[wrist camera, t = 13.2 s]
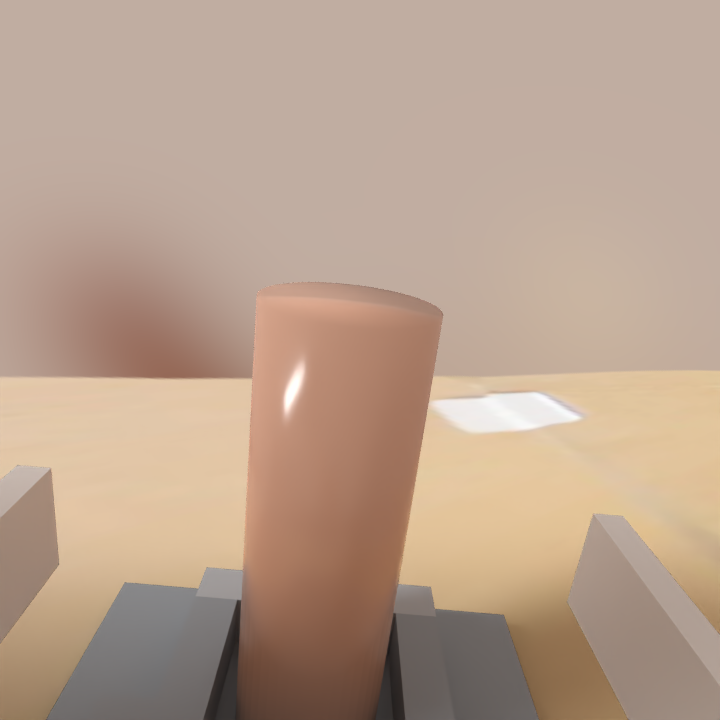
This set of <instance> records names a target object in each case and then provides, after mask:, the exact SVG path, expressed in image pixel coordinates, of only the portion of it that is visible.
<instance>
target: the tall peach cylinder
mask: <svg viewBox="0 0 720 720" xmlns="http://www.w3.org/2000/svg"><path fill="white" fill-rule="evenodd" d="M442 319H443V313H442V311H441V310H440V309H439V308H437V307H436V306H434V305H432V304H431V303H429V302H426V301H424V300H421V299H418V298H415V297H412V296H409V295H405V294H401V293H398V292H393V291H389V290H384V289H378V288H373V287H366V286H359V285H350V284H340V283H323V282H301V283H300V282H298V283H286V284H278V285H273V286H269V287H266V288H263V289H262V290H260V291H259V292H258V293H257V301H256V322H255V340H254V360H253V380H252V400H251V419H250V439H249V459H248V478H247V498H246V518H245V538H244V557H243V577H242V597H241V616H240V636H239V656H238V676H237V695H236V715H235V720H376V714H377V708H378V702H379V696H380V690H381V684H382V678H383V672H384V666H385V660H386V654H387V648H388V642H389V636H390V630H391V624H392V618H393V612H394V606H395V600H396V594H397V588H398V582H399V576H400V570H401V564H402V559H403V553H404V547H405V541H406V535H407V529H408V523H409V517H410V511H411V505H412V499H413V493H414V487H415V481H416V475H417V469H418V463H419V457H420V451H421V445H422V439H423V433H424V427H425V421H426V415H427V409H428V403H429V397H430V391H431V385H432V379H433V373H434V367H435V361H436V355H437V349H438V342H439V337H440V331H441V325H442Z"/></svg>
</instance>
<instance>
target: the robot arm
mask: <svg viewBox="0 0 720 720" xmlns="http://www.w3.org/2000/svg"><path fill="white" fill-rule="evenodd" d="M58 565H59V556H58V544H57V532H56V520H55V508H54V496H53V484H52V473H51V468H45V467H33V466H21V465H17V466H16V467H15V468H14V469H12V470H11V471H10V472H9V473H8V474H7V475H6V476H4V477H3V478H2V479H1V480H0V643H1V642H2V641H3V639H4V638H5V636H6V635H7V634H8V632H9V631H10V630H11V628H12V627H13V626H14V624H15V623H16V622H17V620H18V619H19V618H20V616H21V615H22V614H23V612H24V611H25V610H26V608H27V607H28V606H29V604H30V603H31V602H32V600H33V599H34V598H35V596H36V595H37V593H38V592H39V591H40V589H41V588H42V587H43V585H44V584H45V583H46V581H47V580H48V579H49V577H50V576H51V575H52V573H53V572H54V571H55V569H56V568H57V567H58ZM567 603H568V605H569V606H570V608H571V610H572V612H573V614H574V616H575V618H576V620H577V622H578V624H579V626H580V628H581V630H582V631H583V633H584V635H585V637H586V639H587V641H588V643H589V645H590V647H591V649H592V651H593V653H594V655H595V656H596V658H597V660H598V662H599V664H600V666H601V668H602V670H603V672H604V674H605V676H606V678H607V680H608V681H609V683H610V685H611V687H612V689H613V691H614V693H615V695H616V697H617V699H618V701H619V703H620V705H621V706H622V708H623V710H624V712H625V714H626V716H627V718H628V720H720V634H719V633H718V632H717V631H716V629H715V628H714V627H713V626H712V624H711V623H710V622H709V621H708V620H707V618H706V617H705V616H704V615H703V613H702V612H701V611H700V610H699V609H698V607H697V606H696V605H695V604H694V602H693V601H692V600H691V599H690V598H689V596H688V595H687V594H686V593H685V591H684V590H683V589H682V588H681V587H680V585H679V584H678V583H677V582H676V580H675V579H674V578H673V577H672V576H671V574H670V573H669V572H668V571H667V569H666V568H665V567H664V566H663V564H662V563H661V562H660V561H659V560H658V558H657V557H656V556H655V555H654V553H653V552H652V551H651V550H650V549H649V547H648V546H647V545H646V544H645V542H644V541H643V540H642V539H641V538H640V536H639V535H638V534H637V533H636V531H635V530H634V529H633V528H632V527H631V525H630V524H629V523H628V522H627V520H626V519H625V518H624V517H623V516H616V515H604V514H593V516H592V519H591V523H590V526H589V529H588V533H587V536H586V540H585V543H584V546H583V550H582V553H581V556H580V560H579V563H578V567H577V570H576V573H575V577H574V580H573V583H572V587H571V590H570V594H569V597H568V600H567Z"/></svg>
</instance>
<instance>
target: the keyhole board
mask: <svg viewBox="0 0 720 720" xmlns="http://www.w3.org/2000/svg"><path fill="white" fill-rule="evenodd" d="M242 577H243V571H242V570H231V569H219V568H208V567H207V568H206V570H205V573H204V576H203V578H202V581H201V583H200V586H199V589H196V588H184V587H172V586H161V585H149V584H137V583H126V582H125V583H124V585H123V587H122V588H121V590H120V592H119V594H118V595H117V597H116V599H115V601H114V602H113V604H112V606H111V608H110V609H109V611H108V613H107V615H106V616H105V618H104V620H103V621H102V623H101V625H100V627H99V628H98V630H97V632H96V634H95V635H94V637H93V639H92V641H91V642H90V644H89V646H88V648H87V649H86V651H85V653H84V655H83V656H82V658H81V660H80V661H79V663H78V665H77V667H76V668H75V670H74V672H73V674H72V675H71V677H70V679H69V681H68V682H67V684H66V686H65V688H64V689H63V691H62V693H61V695H60V696H59V698H58V700H57V702H56V703H55V705H54V707H53V708H52V710H51V712H50V714H49V715H48V717H47V719H46V720H235V715H236V695H237V676H238V656H239V636H240V616H241V597H242ZM376 720H539V718H538V715H537V712H536V709H535V706H534V703H533V700H532V697H531V694H530V691H529V689H528V686H527V683H526V680H525V677H524V674H523V671H522V668H521V665H520V662H519V659H518V656H517V653H516V650H515V647H514V644H513V641H512V638H511V635H510V632H509V629H508V626H507V623H506V620H505V617H504V615H499V614H487V613H476V612H464V611H452V610H441V609H435V607H434V602H433V596H432V591H431V587H425V586H414V585H402V584H398V588H397V594H396V600H395V606H394V612H393V618H392V624H391V630H390V636H389V642H388V648H387V654H386V660H385V666H384V672H383V678H382V684H381V690H380V696H379V702H378V708H377V714H376Z"/></svg>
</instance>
